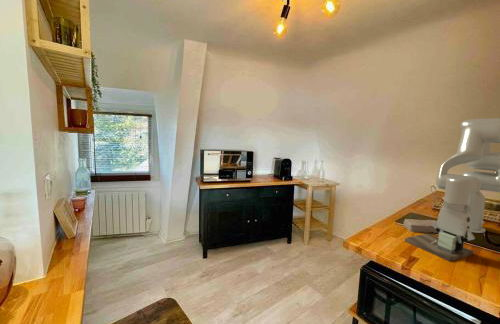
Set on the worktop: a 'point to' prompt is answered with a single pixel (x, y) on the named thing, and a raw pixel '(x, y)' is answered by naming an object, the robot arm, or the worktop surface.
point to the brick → (420, 225)
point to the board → (431, 244)
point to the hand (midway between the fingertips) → (450, 247)
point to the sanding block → (447, 242)
